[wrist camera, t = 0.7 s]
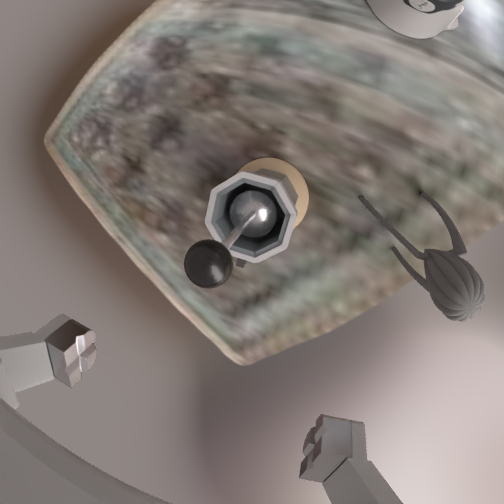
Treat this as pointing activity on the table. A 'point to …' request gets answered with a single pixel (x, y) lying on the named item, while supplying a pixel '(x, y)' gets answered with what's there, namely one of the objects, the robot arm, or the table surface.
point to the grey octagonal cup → (278, 189)
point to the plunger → (230, 239)
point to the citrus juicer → (443, 270)
